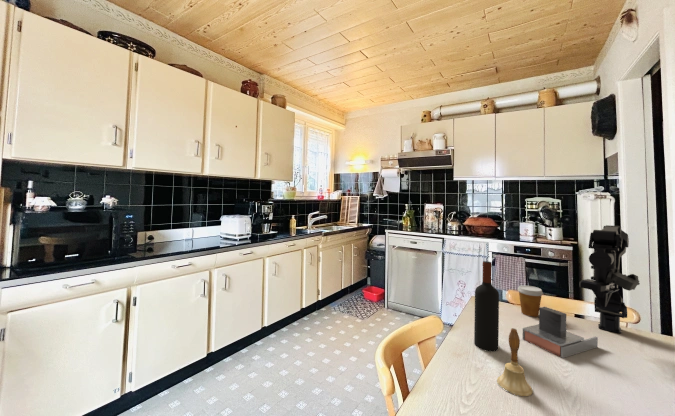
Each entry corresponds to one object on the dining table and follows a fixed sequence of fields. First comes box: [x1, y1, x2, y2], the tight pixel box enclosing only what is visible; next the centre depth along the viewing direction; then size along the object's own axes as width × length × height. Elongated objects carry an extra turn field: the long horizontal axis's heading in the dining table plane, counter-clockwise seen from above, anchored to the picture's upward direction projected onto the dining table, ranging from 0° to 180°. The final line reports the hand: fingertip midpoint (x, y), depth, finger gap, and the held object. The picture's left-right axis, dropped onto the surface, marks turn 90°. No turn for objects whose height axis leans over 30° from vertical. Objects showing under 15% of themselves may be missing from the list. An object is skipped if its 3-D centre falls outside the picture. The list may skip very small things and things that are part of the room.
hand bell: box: [496, 328, 534, 397], centre depth 75 cm, size 8×8×16 cm
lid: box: [522, 306, 585, 346], centre depth 97 cm, size 13×13×9 cm
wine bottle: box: [473, 260, 500, 352], centre depth 96 cm, size 8×8×30 cm
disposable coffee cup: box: [517, 284, 544, 318], centre depth 124 cm, size 10×10×12 cm
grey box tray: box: [522, 329, 599, 359], centre depth 98 cm, size 19×13×4 cm
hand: (603, 306), depth 99 cm, fingers closed
